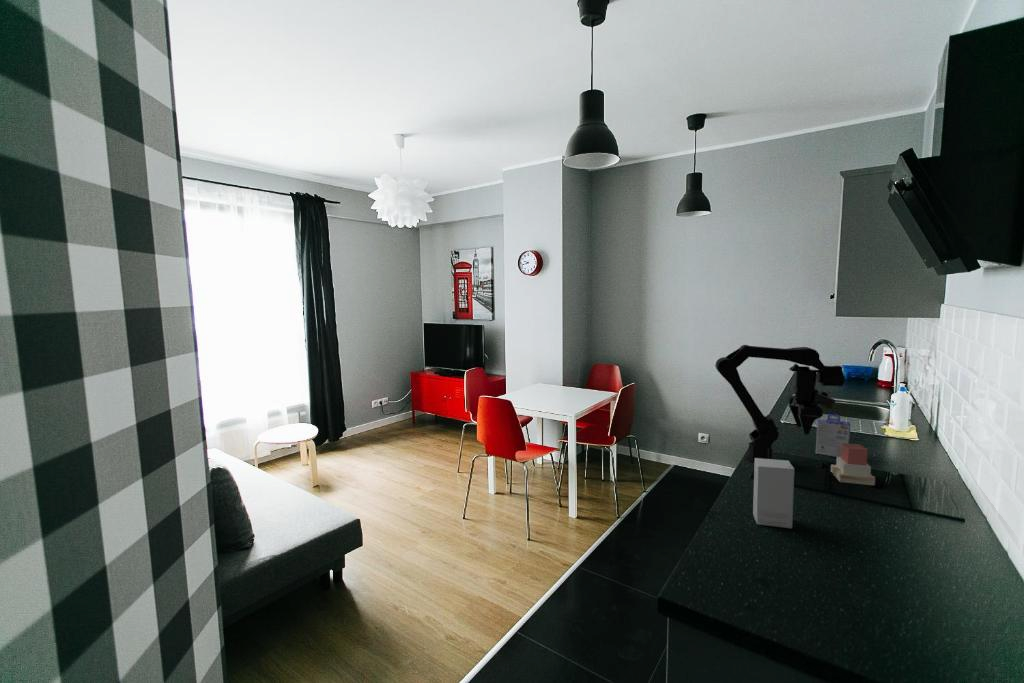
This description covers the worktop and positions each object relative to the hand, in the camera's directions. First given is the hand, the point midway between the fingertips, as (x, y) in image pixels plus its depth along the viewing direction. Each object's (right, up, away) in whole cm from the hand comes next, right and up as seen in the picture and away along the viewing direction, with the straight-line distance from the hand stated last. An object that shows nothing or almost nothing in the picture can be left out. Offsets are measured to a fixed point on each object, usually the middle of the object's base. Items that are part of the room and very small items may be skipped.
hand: (802, 430), depth 158 cm
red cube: (+9, -8, -11) cm, 16 cm away
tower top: (+9, -11, -11) cm, 18 cm away
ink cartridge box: (+18, -11, +12) cm, 24 cm away
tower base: (+9, -14, -10) cm, 19 cm away
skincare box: (-32, -16, -38) cm, 53 cm away
